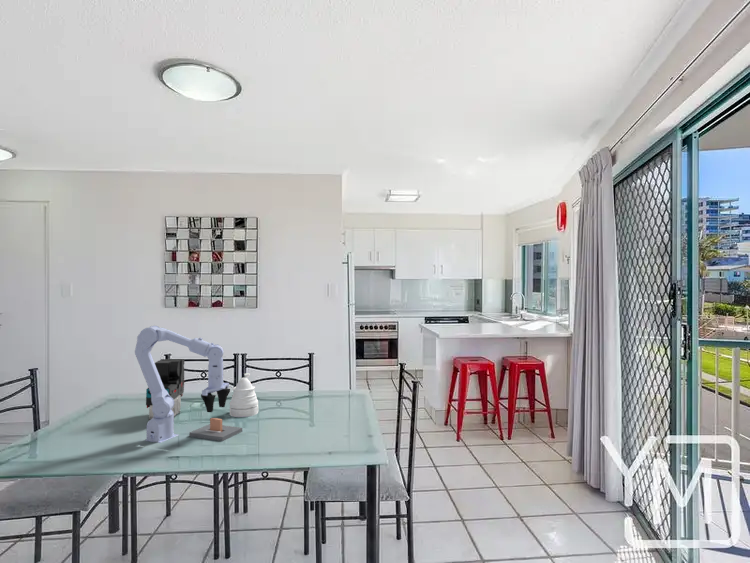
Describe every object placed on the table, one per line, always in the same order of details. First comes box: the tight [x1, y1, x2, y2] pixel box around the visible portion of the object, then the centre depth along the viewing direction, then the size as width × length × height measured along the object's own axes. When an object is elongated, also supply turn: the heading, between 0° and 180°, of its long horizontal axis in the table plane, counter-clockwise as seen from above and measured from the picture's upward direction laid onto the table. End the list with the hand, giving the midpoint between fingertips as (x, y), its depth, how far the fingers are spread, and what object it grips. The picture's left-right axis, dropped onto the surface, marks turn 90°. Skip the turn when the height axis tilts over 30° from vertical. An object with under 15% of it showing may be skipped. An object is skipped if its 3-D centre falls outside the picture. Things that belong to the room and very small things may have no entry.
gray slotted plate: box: [188, 423, 243, 442], centre depth 184 cm, size 12×16×2 cm
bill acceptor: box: [145, 358, 185, 421], centre depth 208 cm, size 10×23×25 cm, turn 8°
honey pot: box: [229, 372, 259, 418], centre depth 215 cm, size 13×13×18 cm
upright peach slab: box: [209, 417, 223, 432], centre depth 184 cm, size 1×5×6 cm, turn 69°
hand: (216, 409), depth 185 cm, fingers open, 7 cm apart
